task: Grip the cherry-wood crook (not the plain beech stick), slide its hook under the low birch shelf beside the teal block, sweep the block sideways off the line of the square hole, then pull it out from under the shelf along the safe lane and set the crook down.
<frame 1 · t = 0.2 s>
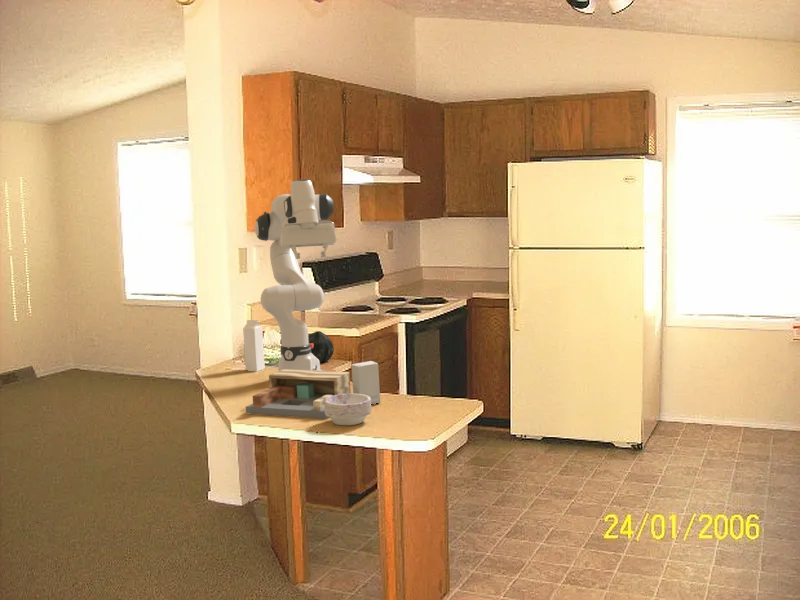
hand: (310, 257, 312), 52 cm above the table, tool tilted 20°, fingers open, 8 cm apart
stick: (323, 406, 293), point 2 cm above the table, touching board
skincare box: (366, 404, 305), on the table
board: (300, 408, 302), on the table
squash: (317, 361, 391), on the table
block: (305, 396, 309), point 2 cm above the table, touching board
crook: (268, 401, 303), point 2 cm above the table, touching board
milk: (255, 370, 376), on the table
paper bowls: (348, 422, 281), on the table
shelf: (310, 402, 311), resting on board
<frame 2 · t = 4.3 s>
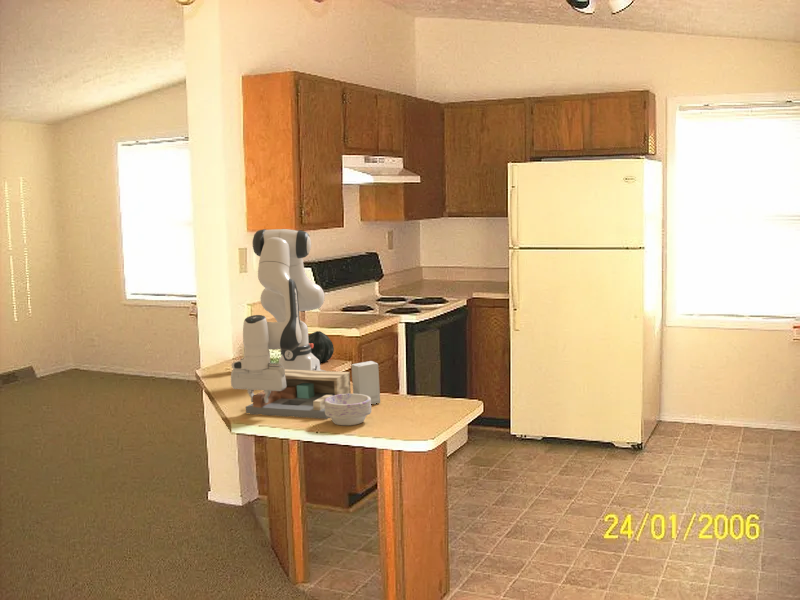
hand: (259, 402, 297), 4 cm above the table, tool pointing down, fingers closed on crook, 3 cm apart
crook: (268, 401, 303), point 2 cm above the table, touching board, gripper
everything else where it was.
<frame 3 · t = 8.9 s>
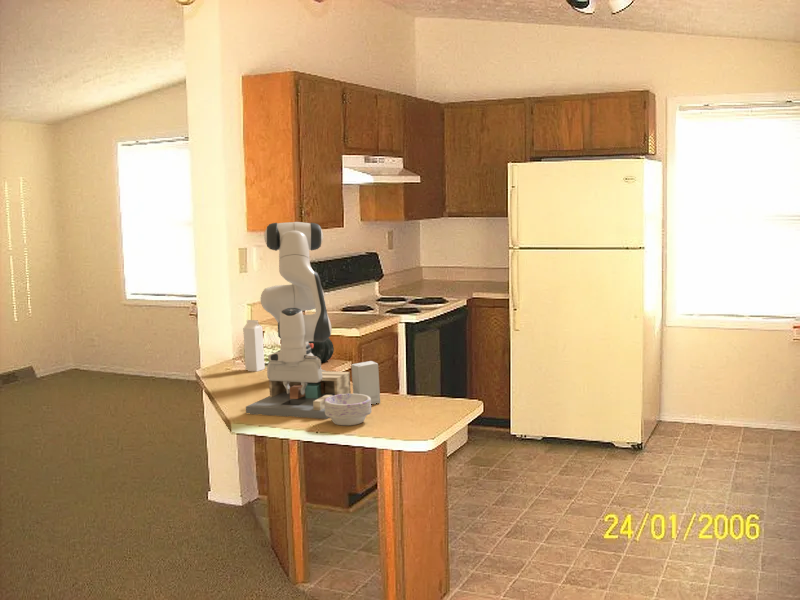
hand: (295, 394, 301), 5 cm above the table, tool pointing down, fingers closed on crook, 3 cm apart
block: (313, 396, 309), point 3 cm above the table, touching board
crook: (301, 395, 307), point 3 cm above the table, tilted 6°, touching gripper
everything else where it was.
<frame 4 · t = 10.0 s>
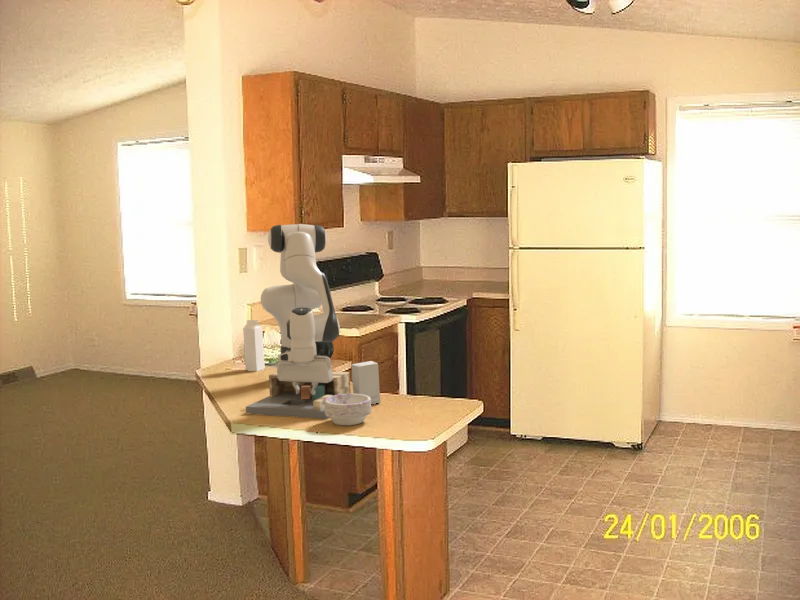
hand: (305, 394, 299), 6 cm above the table, tool pointing down, fingers closed on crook, 4 cm apart
block: (318, 396, 308), point 2 cm above the table, touching board, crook
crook: (307, 396, 305), point 4 cm above the table, tilted 6°, touching block, gripper, shelf
everything else where it was.
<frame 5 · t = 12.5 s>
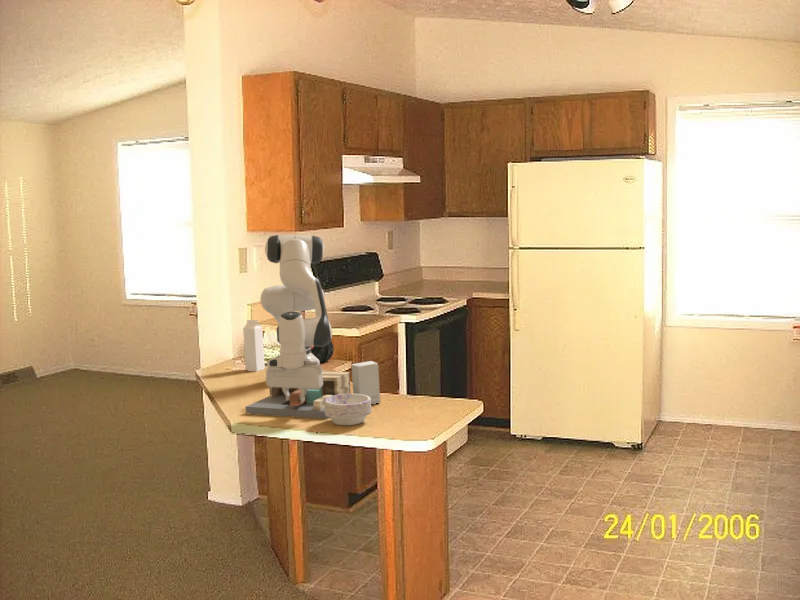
hand: (295, 400, 291), 5 cm above the table, tool pointing down, fingers closed on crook, 3 cm apart
block: (314, 401, 301), point 2 cm above the table, touching board, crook
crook: (301, 401, 297), point 4 cm above the table, touching block, gripper
everything else where it was.
when the fingers open (4 cm above the table, at t = 13.5 s): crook stays where it is, resting on board.
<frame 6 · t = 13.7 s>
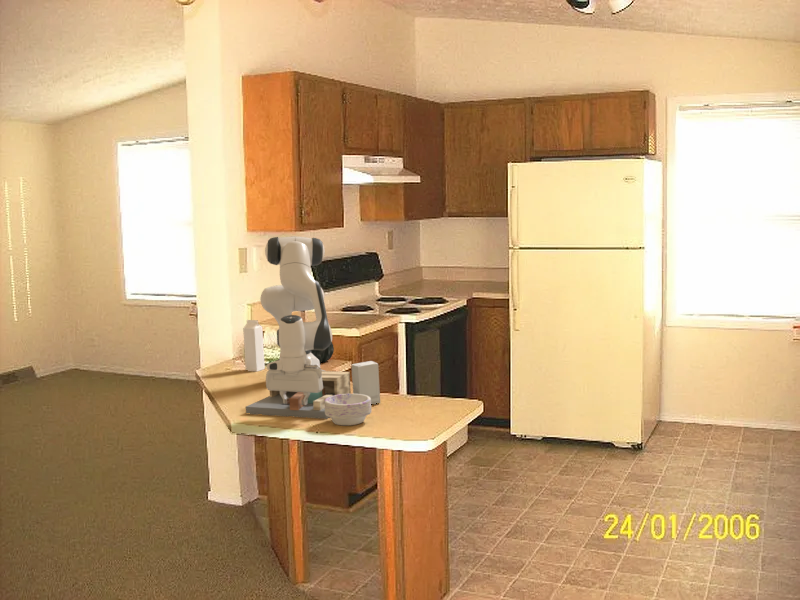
hand: (295, 404, 291), 4 cm above the table, tool pointing down, fingers open, 5 cm apart
block: (314, 401, 301), point 2 cm above the table, touching board
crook: (301, 404, 298), point 2 cm above the table, touching board
everything else where it was.
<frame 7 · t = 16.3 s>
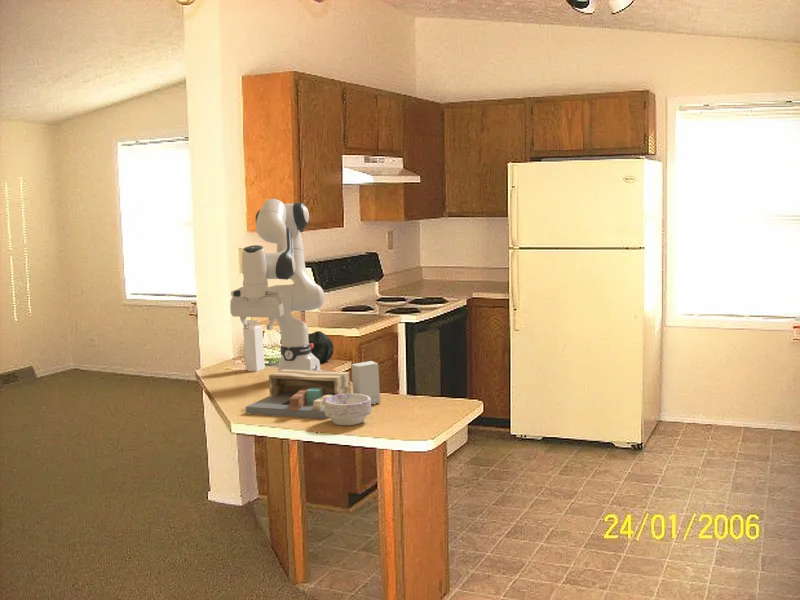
hand: (258, 329, 311), 27 cm above the table, tool pointing down, fingers open, 8 cm apart
nothing on the table moved.
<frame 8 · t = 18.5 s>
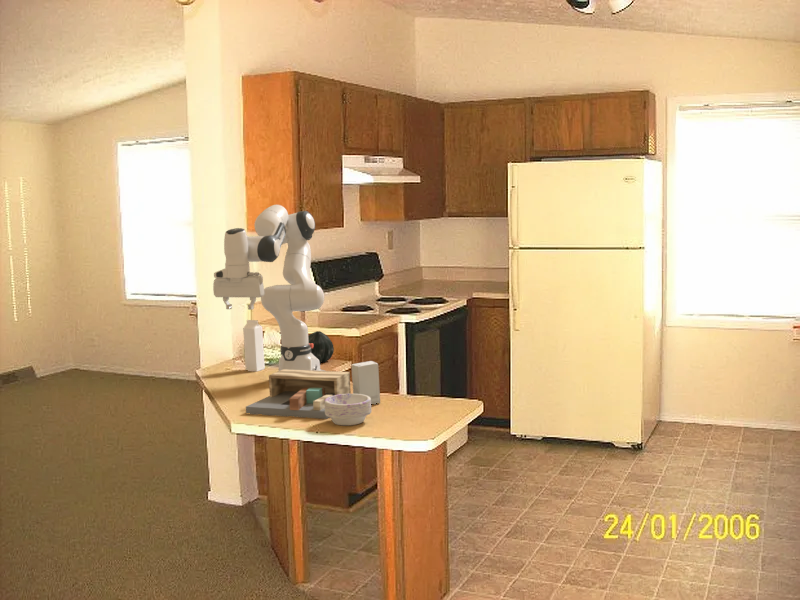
hand: (240, 309, 321), 33 cm above the table, tool pointing down, fingers open, 8 cm apart
nothing on the table moved.
at the end: block inside the target area (7.7 cm from its centre), point 2.5 cm above the table; block moved 9.4 cm from its start; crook moved 13.3 cm from its start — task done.
